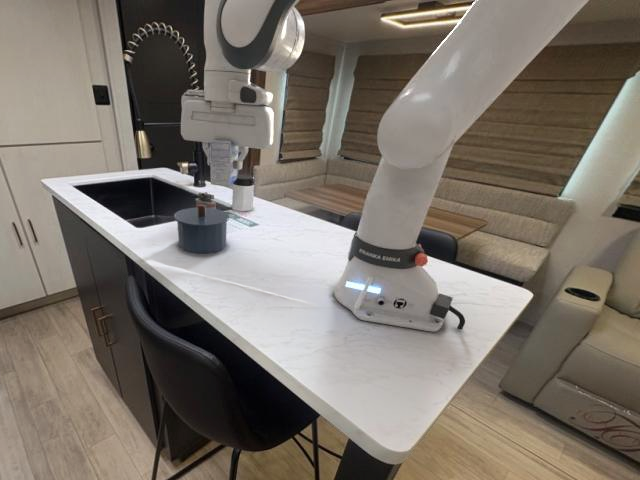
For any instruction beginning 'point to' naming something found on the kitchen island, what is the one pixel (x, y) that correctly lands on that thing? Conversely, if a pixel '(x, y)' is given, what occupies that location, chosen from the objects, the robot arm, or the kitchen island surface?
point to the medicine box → (223, 162)
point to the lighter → (205, 200)
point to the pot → (202, 238)
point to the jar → (243, 193)
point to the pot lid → (201, 216)
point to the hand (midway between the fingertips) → (224, 167)
